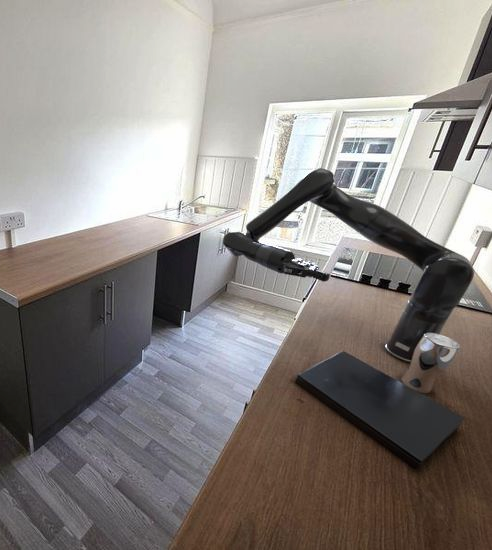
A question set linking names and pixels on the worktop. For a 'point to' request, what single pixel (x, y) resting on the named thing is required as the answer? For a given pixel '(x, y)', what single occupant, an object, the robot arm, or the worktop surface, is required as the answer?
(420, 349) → the beer glass
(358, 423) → the laptop
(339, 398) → the laptop screen
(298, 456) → the worktop surface
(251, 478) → the worktop surface
